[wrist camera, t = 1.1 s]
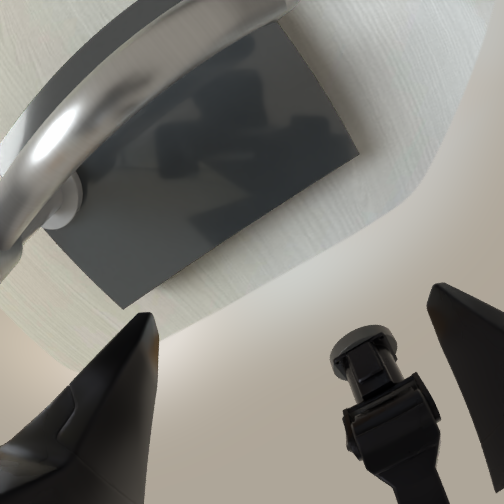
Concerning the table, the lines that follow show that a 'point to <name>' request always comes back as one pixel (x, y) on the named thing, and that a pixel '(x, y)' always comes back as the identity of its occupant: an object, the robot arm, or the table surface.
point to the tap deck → (184, 156)
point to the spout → (119, 101)
